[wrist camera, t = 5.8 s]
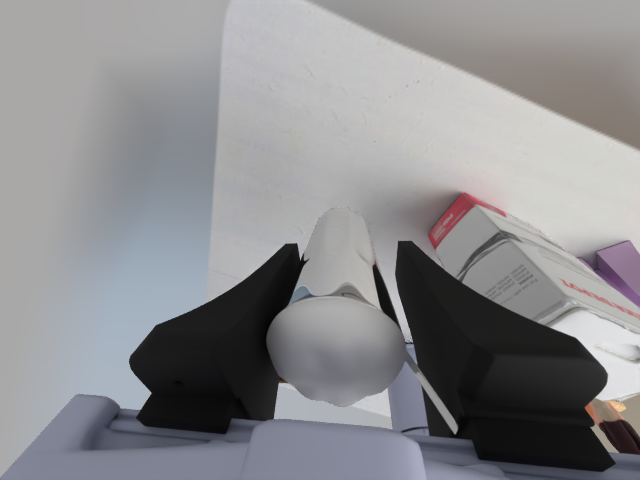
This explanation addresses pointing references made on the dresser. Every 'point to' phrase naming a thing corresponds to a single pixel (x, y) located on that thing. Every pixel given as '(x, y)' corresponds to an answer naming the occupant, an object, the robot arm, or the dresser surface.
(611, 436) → the grandmother figurine
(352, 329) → the milkshake
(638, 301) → the letters
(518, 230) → the ink box
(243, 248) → the dresser surface
